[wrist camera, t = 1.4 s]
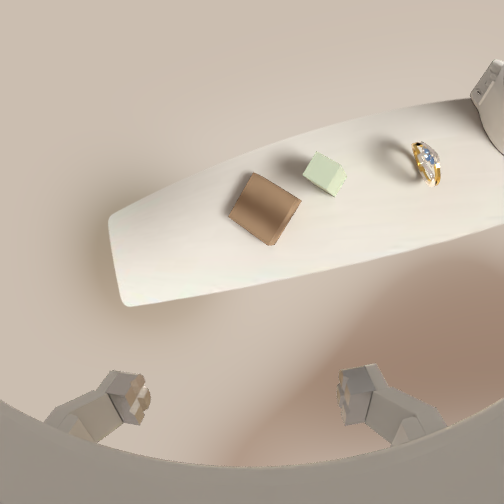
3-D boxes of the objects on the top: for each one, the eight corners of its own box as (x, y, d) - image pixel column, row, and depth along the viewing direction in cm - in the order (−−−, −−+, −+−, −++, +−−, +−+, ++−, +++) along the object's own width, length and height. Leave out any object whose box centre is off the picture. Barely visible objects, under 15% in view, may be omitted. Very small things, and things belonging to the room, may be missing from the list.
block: (326, 165, 43) (316, 151, 35) (347, 176, 41) (340, 165, 34) (314, 184, 44) (302, 174, 37) (334, 197, 42) (326, 189, 35)
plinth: (260, 175, 48) (253, 172, 45) (301, 200, 45) (296, 198, 42) (236, 217, 50) (228, 216, 48) (274, 244, 47) (267, 245, 45)
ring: (404, 152, 37) (409, 136, 29) (421, 148, 35) (428, 130, 28) (420, 193, 36) (429, 184, 29) (436, 188, 35) (448, 178, 27)
